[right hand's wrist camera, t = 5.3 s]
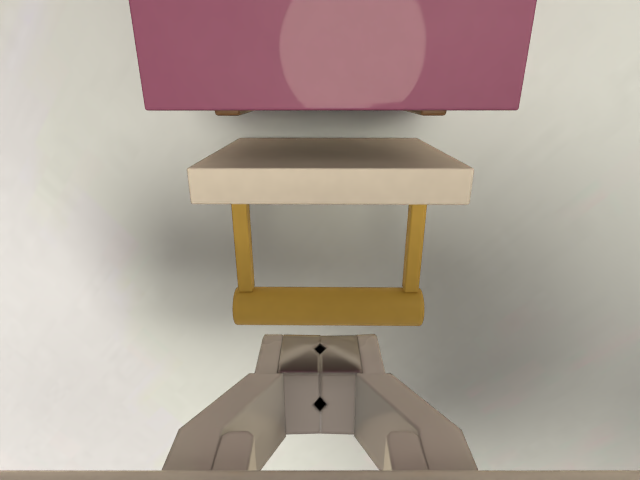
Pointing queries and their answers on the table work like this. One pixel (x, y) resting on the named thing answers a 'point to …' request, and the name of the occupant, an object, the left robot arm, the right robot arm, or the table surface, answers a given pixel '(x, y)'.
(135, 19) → the cabinet
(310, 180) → the drawer
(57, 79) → the table surface
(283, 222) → the table surface
